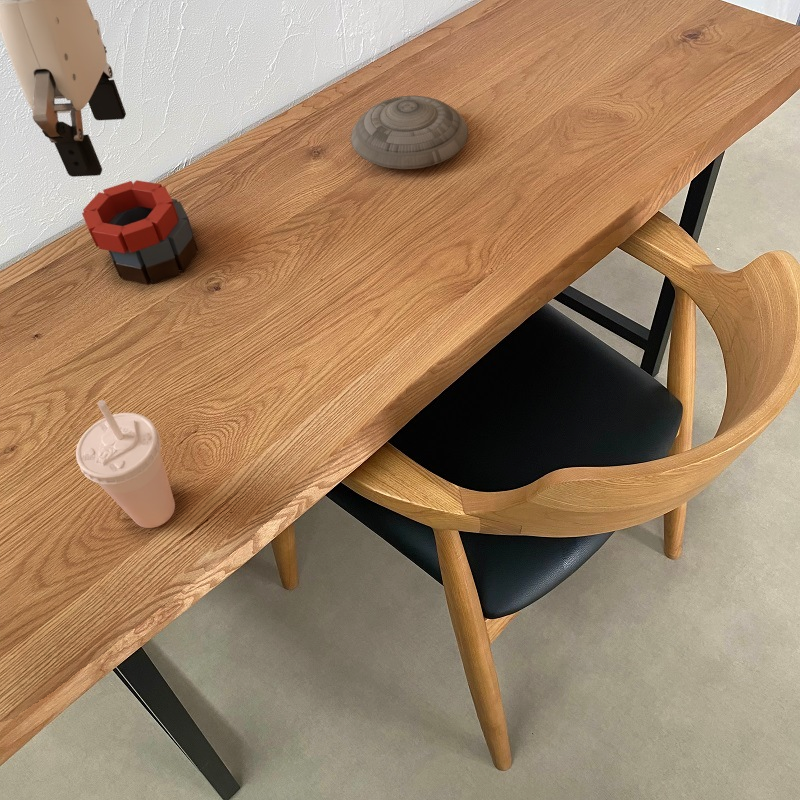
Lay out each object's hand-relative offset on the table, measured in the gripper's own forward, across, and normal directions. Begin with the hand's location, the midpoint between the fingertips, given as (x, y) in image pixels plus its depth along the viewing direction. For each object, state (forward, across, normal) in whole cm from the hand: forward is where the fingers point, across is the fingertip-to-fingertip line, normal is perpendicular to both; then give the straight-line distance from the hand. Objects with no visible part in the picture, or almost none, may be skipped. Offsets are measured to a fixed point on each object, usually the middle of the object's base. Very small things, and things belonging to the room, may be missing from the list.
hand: (99, 145), depth 79 cm
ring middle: (+13, -1, +1) cm, 13 cm away
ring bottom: (+15, -1, +1) cm, 15 cm away
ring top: (+10, -1, 0) cm, 10 cm away
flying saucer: (+15, -21, +30) cm, 40 cm away
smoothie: (+16, +33, +8) cm, 37 cm away
